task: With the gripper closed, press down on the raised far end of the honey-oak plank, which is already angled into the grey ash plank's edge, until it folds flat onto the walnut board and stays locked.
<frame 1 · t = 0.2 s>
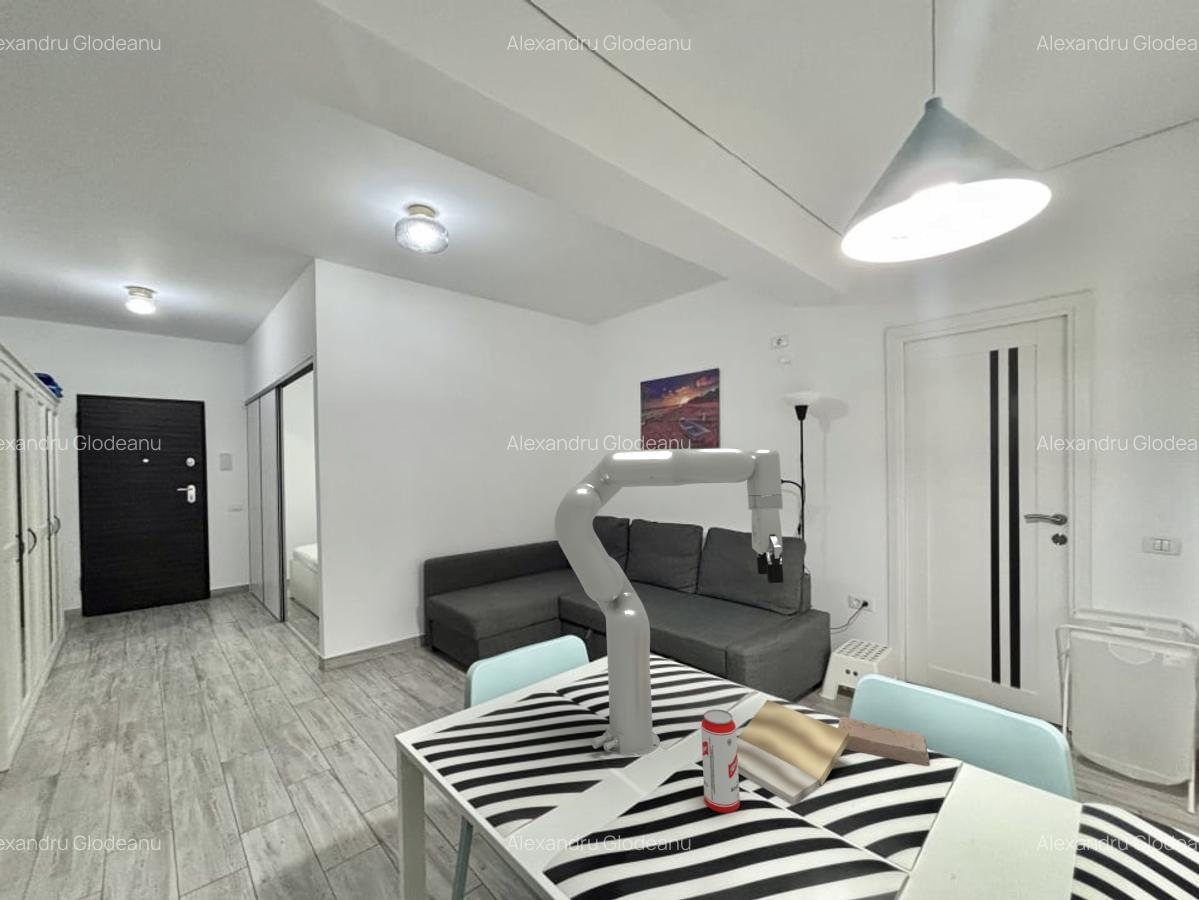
hand: (770, 578, 112), 36 cm above the table, tool pointing down, fingers open, 9 cm apart
brick: (882, 754, 104), on the table
oak plank: (791, 737, 103), point 4 cm above the table, hinge at 25.0°
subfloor: (783, 764, 101), on the table
beer can: (722, 808, 88), on the table
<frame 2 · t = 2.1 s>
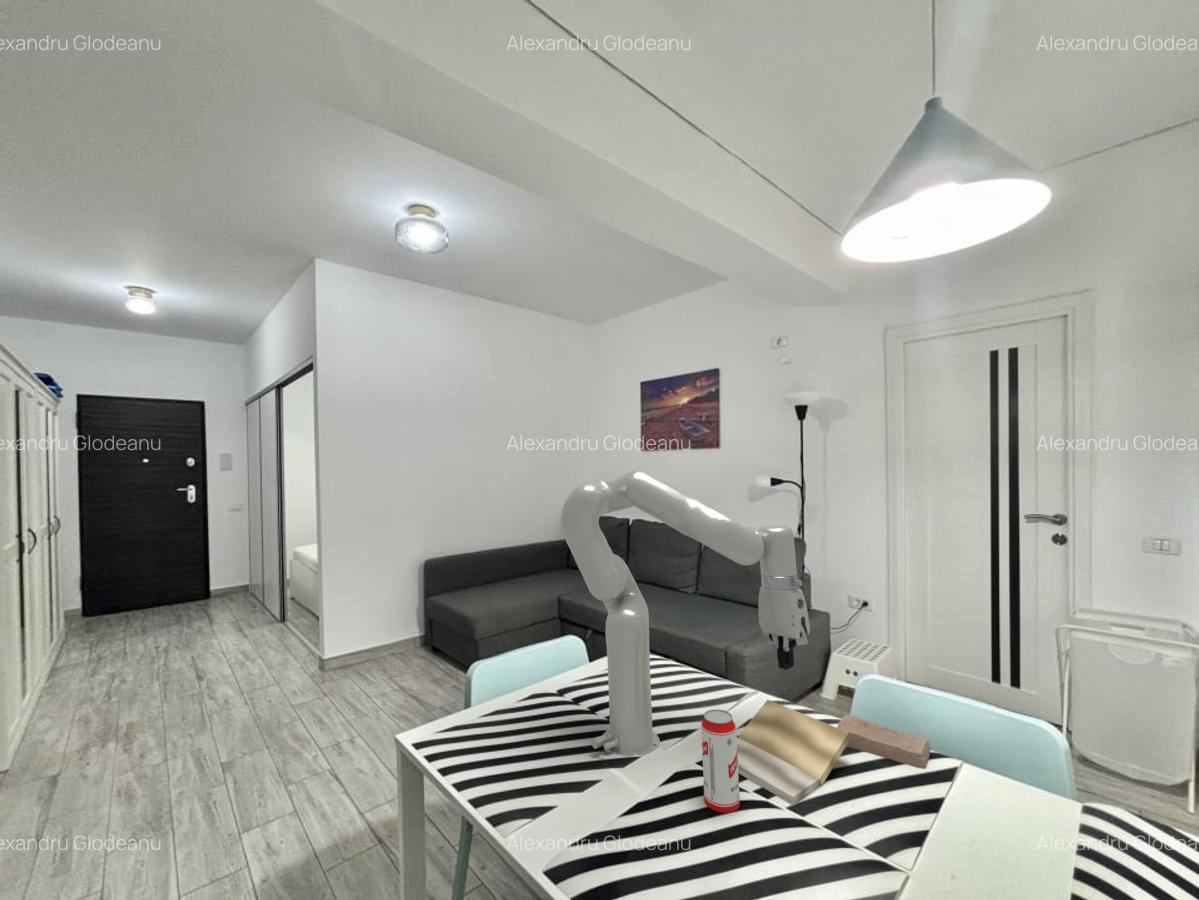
hand: (786, 667, 107), 17 cm above the table, tool pointing down, fingers closed
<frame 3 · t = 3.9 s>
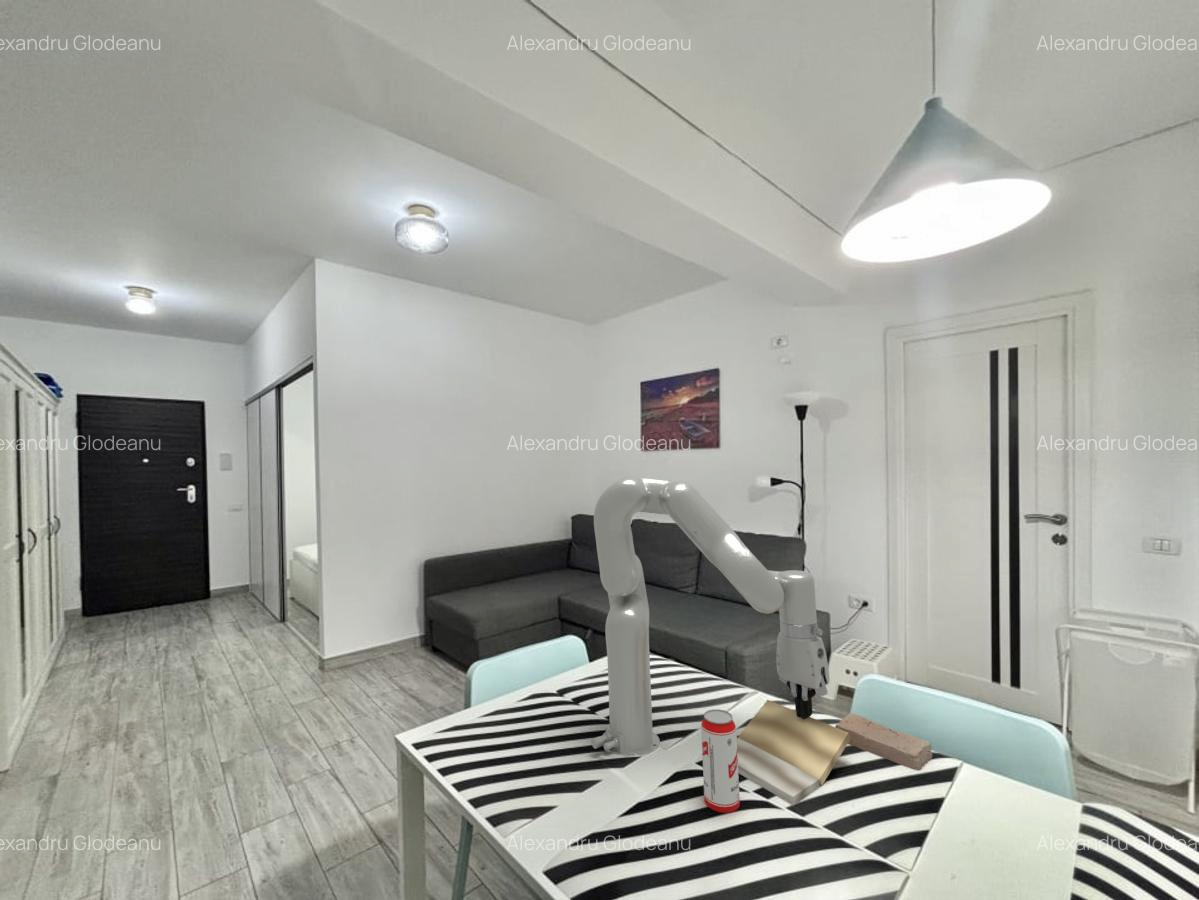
hand: (804, 716, 106), 7 cm above the table, tool pointing down, fingers closed
oak plank: (791, 738, 103), point 4 cm above the table, hinge at 24.7°, touching gripper
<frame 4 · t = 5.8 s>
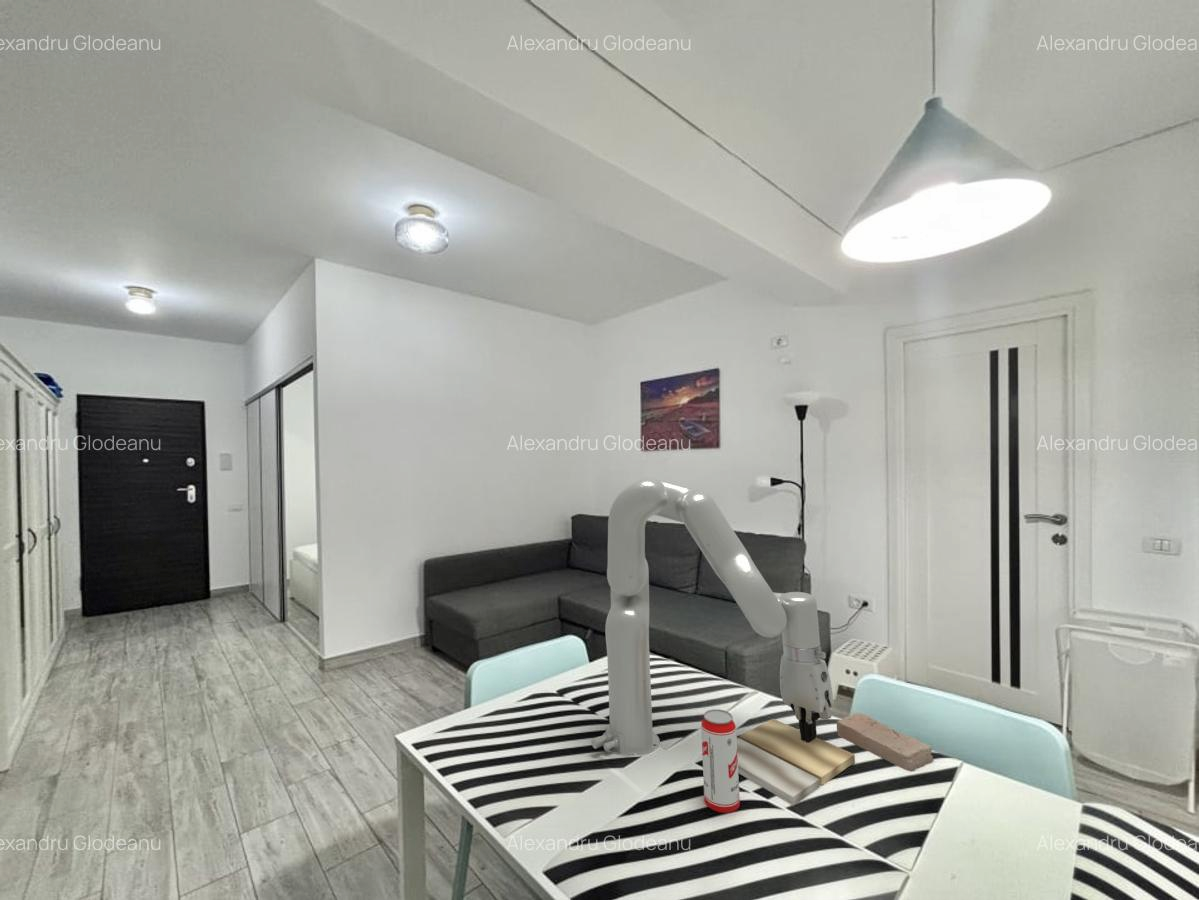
hand: (808, 739, 105), 3 cm above the table, tool pointing down, fingers closed
oak plank: (794, 748, 103), point 2 cm above the table, hinge at 0.5°, touching gripper
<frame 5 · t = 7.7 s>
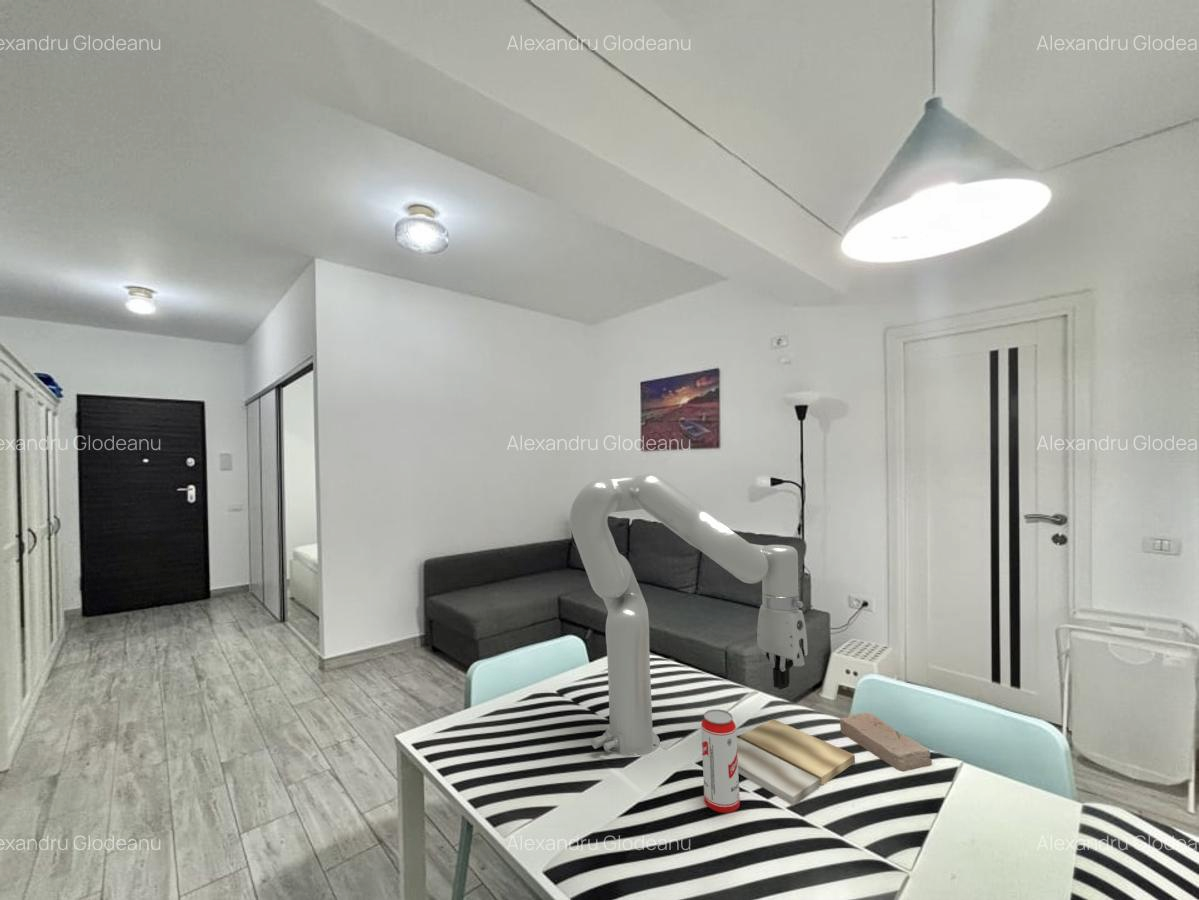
hand: (781, 686, 108), 13 cm above the table, tool pointing down, fingers closed
oak plank: (794, 748, 103), point 2 cm above the table, hinge at 0.2°
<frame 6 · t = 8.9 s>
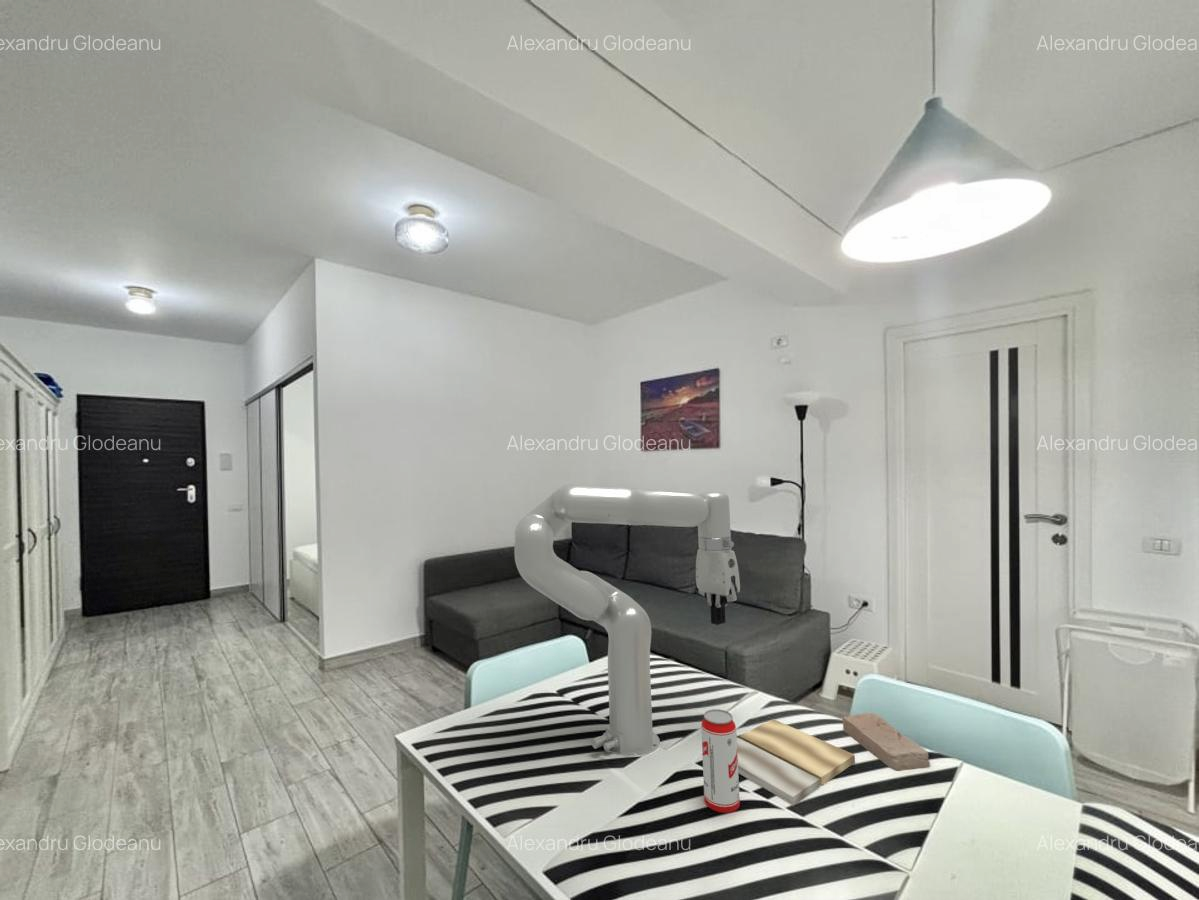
hand: (718, 623, 115), 25 cm above the table, tool pointing down, fingers closed
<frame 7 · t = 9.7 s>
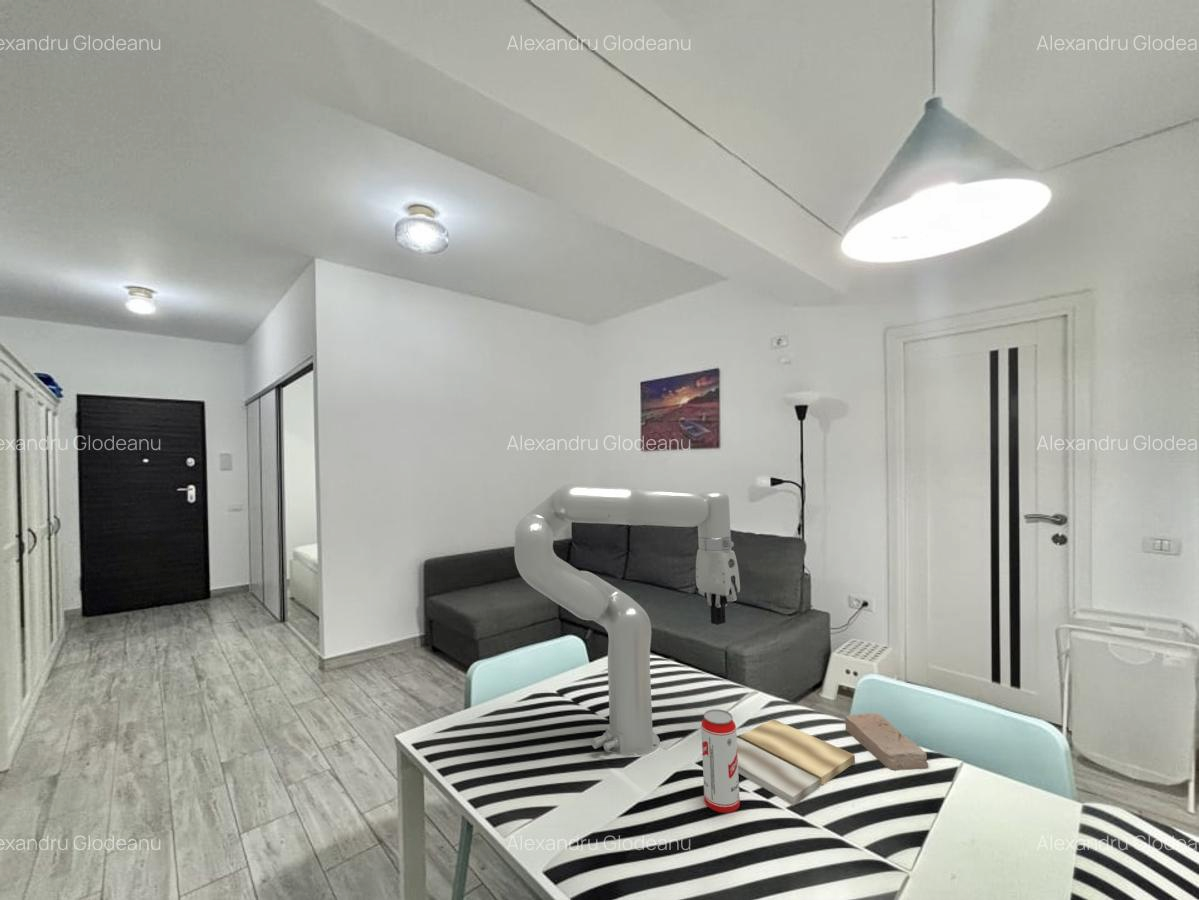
hand: (718, 622, 115), 25 cm above the table, tool pointing down, fingers closed
at the end: oak plank at +0° (first picture: +25°); the gripper is holding nothing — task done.
